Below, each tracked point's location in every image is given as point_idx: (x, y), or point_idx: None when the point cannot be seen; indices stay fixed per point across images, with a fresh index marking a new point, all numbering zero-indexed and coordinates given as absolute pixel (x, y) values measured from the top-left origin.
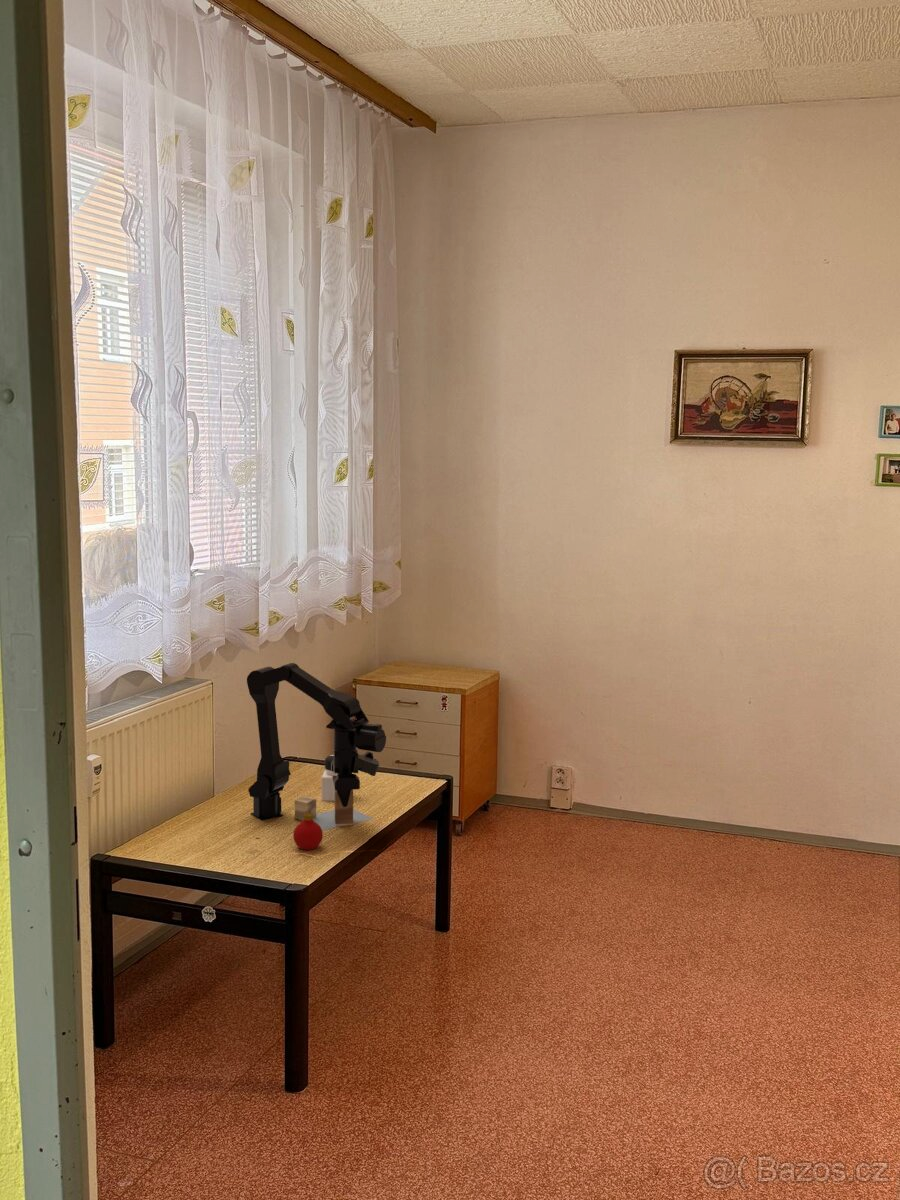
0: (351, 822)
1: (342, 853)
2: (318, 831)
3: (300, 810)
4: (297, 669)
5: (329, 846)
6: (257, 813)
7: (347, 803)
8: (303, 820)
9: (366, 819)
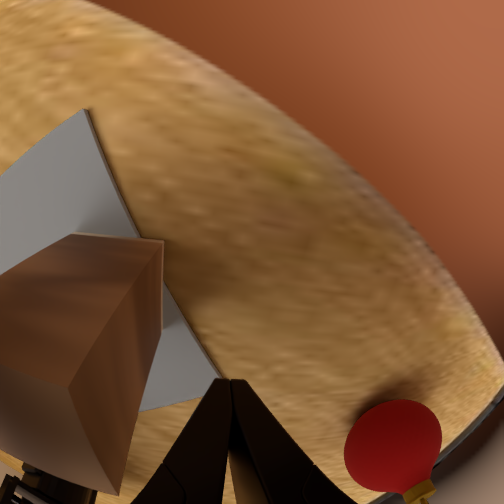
0: (160, 254)
1: (453, 322)
2: (440, 433)
3: None
4: None
5: (386, 362)
6: None
7: (260, 400)
8: None
9: (86, 148)
